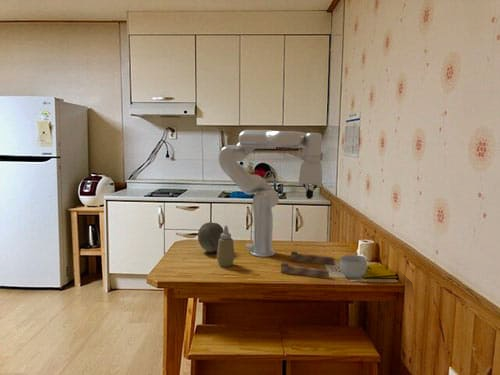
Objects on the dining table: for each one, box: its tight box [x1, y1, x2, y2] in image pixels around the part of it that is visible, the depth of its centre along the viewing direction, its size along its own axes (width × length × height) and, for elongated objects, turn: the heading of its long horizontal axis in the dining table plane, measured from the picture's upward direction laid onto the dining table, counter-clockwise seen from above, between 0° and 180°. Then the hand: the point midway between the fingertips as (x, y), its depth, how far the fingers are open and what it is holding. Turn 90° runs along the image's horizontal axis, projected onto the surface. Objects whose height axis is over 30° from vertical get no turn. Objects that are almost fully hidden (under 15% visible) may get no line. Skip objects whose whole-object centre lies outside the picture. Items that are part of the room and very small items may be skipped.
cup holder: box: [280, 251, 335, 279], centre depth 173 cm, size 20×21×4 cm
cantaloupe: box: [197, 221, 224, 254], centre depth 195 cm, size 14×14×15 cm
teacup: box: [339, 253, 367, 279], centre depth 164 cm, size 14×11×8 cm
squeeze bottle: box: [216, 225, 235, 268], centre depth 174 cm, size 8×8×18 cm
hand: (309, 198), depth 182 cm, fingers closed
